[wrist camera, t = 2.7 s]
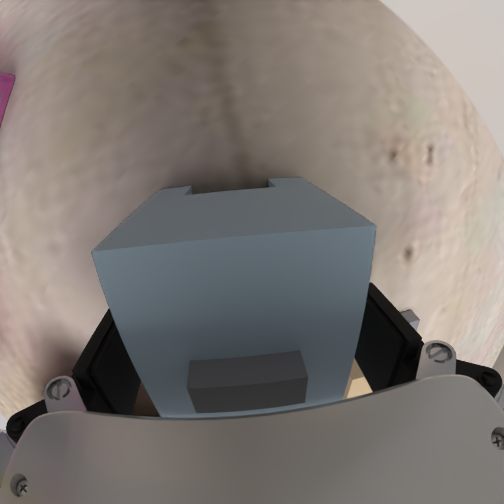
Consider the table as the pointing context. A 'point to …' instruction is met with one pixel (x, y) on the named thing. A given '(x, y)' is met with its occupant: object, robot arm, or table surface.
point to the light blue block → (239, 296)
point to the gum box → (5, 91)
